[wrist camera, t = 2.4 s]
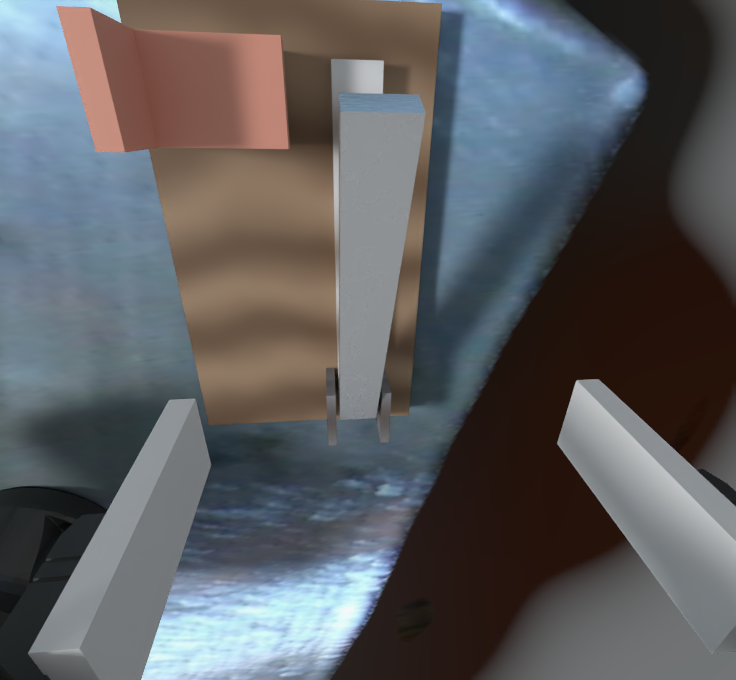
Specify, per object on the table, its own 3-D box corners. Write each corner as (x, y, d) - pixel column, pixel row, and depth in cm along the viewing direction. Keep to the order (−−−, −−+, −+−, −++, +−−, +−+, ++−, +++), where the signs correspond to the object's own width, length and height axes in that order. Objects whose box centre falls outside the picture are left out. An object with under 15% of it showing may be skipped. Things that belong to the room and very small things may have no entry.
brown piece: (405, 405, 39) (417, 445, 34) (213, 414, 37) (196, 458, 32) (435, 10, 25) (463, -18, 20) (125, -5, 23) (73, -39, 18)
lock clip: (290, 148, 23) (282, 153, 18) (142, 146, 22) (96, 151, 18) (282, 39, 21) (271, 15, 16) (117, 33, 20) (56, 6, 15)
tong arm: (374, 401, 34) (376, 417, 33) (339, 403, 34) (339, 419, 33) (419, 94, 15) (425, 113, 14) (338, 92, 15) (340, 111, 14)
